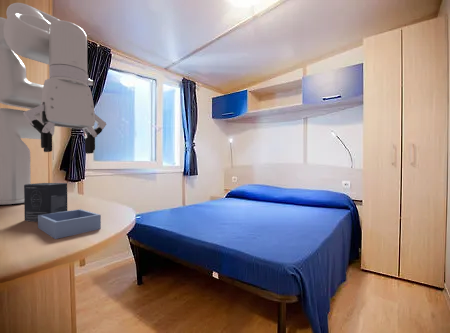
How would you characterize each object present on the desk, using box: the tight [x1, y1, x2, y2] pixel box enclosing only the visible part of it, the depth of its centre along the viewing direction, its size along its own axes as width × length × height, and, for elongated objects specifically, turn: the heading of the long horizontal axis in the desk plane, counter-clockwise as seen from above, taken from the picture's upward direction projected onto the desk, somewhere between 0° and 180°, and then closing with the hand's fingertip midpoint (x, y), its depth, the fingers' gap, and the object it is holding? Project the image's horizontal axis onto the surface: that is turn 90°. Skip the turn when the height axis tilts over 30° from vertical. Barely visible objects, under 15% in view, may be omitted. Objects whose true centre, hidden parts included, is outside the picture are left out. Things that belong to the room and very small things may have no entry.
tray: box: [37, 208, 102, 240], centre depth 55 cm, size 11×9×4 cm
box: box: [23, 182, 68, 223], centre depth 62 cm, size 8×6×11 cm
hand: (70, 152), depth 55 cm, fingers open, 8 cm apart
